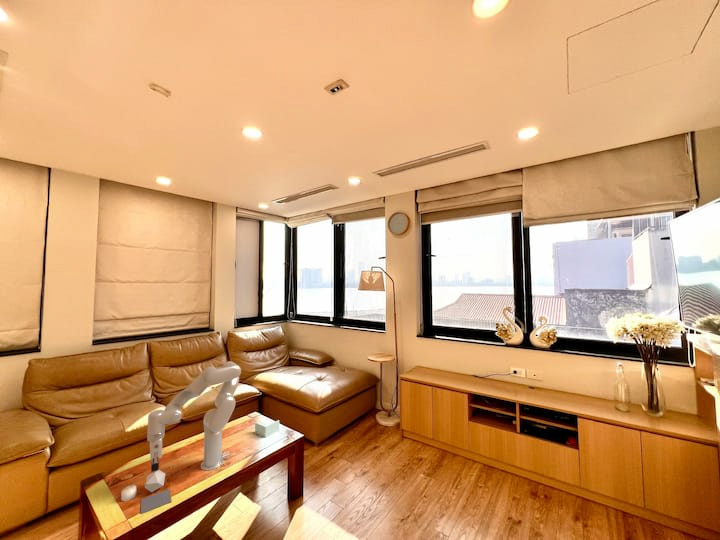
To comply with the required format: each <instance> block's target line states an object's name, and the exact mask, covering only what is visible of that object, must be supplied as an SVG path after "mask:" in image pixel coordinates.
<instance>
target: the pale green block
mask: <svg viewBox="0 0 720 540" xmlns="http://www.w3.org/2000/svg"><path fill="white" fill-rule="evenodd" d="M279 431H280V420H279V419H278V420H276V421H274V422H272V423H270V424H268V425H265V424H262V423H259V422H258V421H256V422H254V433H255V434H257V435H259V436H261V437H263V438H265V439H266V438H268V437H270V436H271V435H273V434H276V433H277V432H279Z"/></svg>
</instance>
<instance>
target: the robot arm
mask: <svg viewBox="0 0 720 540" xmlns="http://www.w3.org/2000/svg"><path fill="white" fill-rule="evenodd" d="M241 374H242V368H241V366H240V365H238V364H237V363H235V362H234V361H230V360H228V361H226V362H224V363H223V365H222V366H221V368H216V367H214V366H211V365H210V366H206V367H205V368H204V369H203V370H202V372H200V374H198V376H197V377H195V379H194V380H193V381H192V382H191V383H190V384H189V385H188V386H187V387H186V388H184V389H183V390H182V391H180V392H179V393H178V394H176V395H175V396H174V397H173V398H172V400H171V401H170V402H169V403H168V404H167V405H166V407H165V408H164V409H157V410H153V411H151V412H150V413H149V414H148V416H147V436H146V437H147V439H146V440H147V442H149V456H150V461H151V465H150V467H151V468H150V471H151V473H153V472H155V471H157V470H160V469H159V467H160V465H159V464H160V462H159V461H160V460H159V459H162V458H163V439H164V437H165V429H166V426H165V425H172V424H175V423H178V422H179V421H180V420H181V419H182V418H183V411H182V408H183V407H184V406H185V405H186V404H187V403H188V402H189V401H190V400H193V399H194V398H195V399H196V398H198V397H200V396H201V395H202V394H203V393H204V391H206V390H207V388H208V387H209V386H210V385H219V384H222V385H221V388H220V389H219V391H218V394H217V395H216V397H215V398H214V406H215V407H216V408H211V409H208V410H207V412H205V414H204V416H203V431H204V432H203V461H202V462H201V463H200V469H201V470H202V471H214V470H216V469H218V468H220V467H221V466H222V465H223V464H224V463H225V458H228V457H230V456H231V452H228V451H225V452H223V450H222V449H223V448H222V447H223V444H222V443H223V442H222V441H223V438H222V437H223V432H222V431H223V429H224V428H225V427H226V426H227V423H228V422H229V420H230V419H231V416H232V414H233V412H234V410H235V407H236V399H235V397H234V394H235V392H236V390H237V388H238V386H239V384H240V383H239V382H240V376H241Z"/></svg>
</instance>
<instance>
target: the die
mask: <svg viewBox="0 0 720 540" xmlns="http://www.w3.org/2000/svg"><path fill="white" fill-rule="evenodd" d="M165 479H166V473H165V472H163V471H161V470H160V469H158V470H157V471H154V472H151V473H150V474H148V475H146V480H145V485H144V489H145V490H148V491H149V492H150V493H153V492H155V491H156V490H158V489H160V488H162V487H164V485H165Z"/></svg>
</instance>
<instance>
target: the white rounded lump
mask: <svg viewBox="0 0 720 540" xmlns="http://www.w3.org/2000/svg"><path fill="white" fill-rule="evenodd" d="M120 496H121V497H120V501H122V502H128V501H131V500H132V499H134V498H136V496H137V485H136V484H131V485H127V486H126V487H124V488H123V489H121V491H120Z"/></svg>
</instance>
